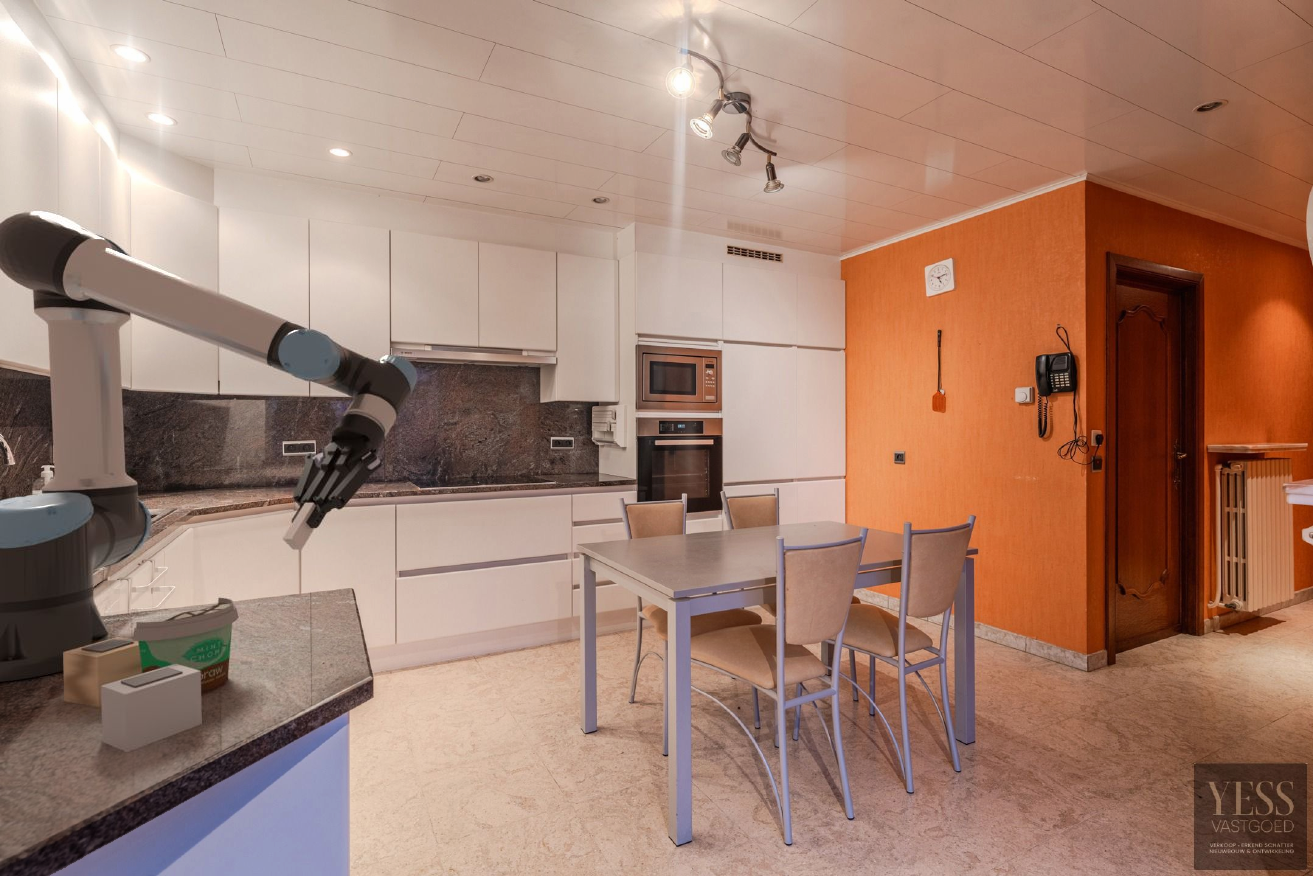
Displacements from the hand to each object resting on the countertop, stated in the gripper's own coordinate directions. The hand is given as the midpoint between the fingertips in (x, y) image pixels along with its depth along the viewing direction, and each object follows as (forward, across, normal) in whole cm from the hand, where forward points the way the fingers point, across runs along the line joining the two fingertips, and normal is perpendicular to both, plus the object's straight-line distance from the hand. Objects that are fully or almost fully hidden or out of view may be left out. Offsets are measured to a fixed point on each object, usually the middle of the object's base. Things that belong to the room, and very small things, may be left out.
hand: (292, 544), depth 93 cm
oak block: (+23, +13, 0) cm, 26 cm away
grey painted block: (+28, -3, +6) cm, 29 cm away
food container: (+21, +2, -2) cm, 21 cm away
